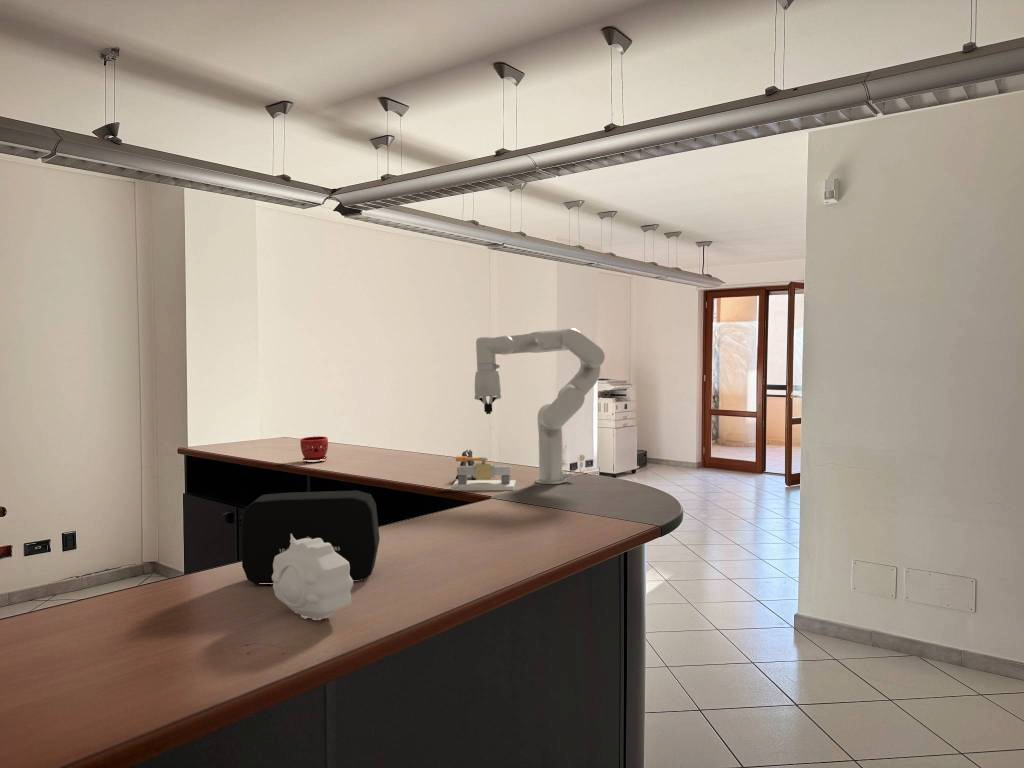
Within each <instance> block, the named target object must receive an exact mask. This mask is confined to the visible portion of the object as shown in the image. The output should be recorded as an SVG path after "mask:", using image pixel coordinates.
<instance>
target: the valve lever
mask: <svg viewBox="0 0 1024 768" xmlns="http://www.w3.org/2000/svg"><path fill="white" fill-rule="evenodd" d="M467 456H468V455H467ZM467 456H462V455H461V456H459V455H458V456H455V462H461V461H467V460H474V461H479V462H482V461H486V462H488V457H487V456H481V457H474V456H472V457H467Z"/></svg>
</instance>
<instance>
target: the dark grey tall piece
mask: <svg viewBox="0 0 1024 768" xmlns="http://www.w3.org/2000/svg"><path fill="white" fill-rule="evenodd" d="M461 456H467V457H473V451H472V449H469V450H468V449H467V450H465V451H463V452H462V453H461ZM474 464H476V462H475V460H467V461H460V465H459V466H473V465H474ZM458 476H459V475H457V474H456V476H455V479H458ZM467 480H476V478H473V475H470V476H467Z"/></svg>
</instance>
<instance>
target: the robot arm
mask: <svg viewBox="0 0 1024 768" xmlns="http://www.w3.org/2000/svg"><path fill="white" fill-rule="evenodd" d="M475 347H476V348H475V349H476V351H475V352H476V369H477V371H475V376H474V400H478V401H480V402H482V404H483V410H484V413H485V415H491V414H492V412H493V403H494V402H495V401H496V400H500V399H501V398H502V395H501V381H500V375H499V371H498V370H497V369H500V364H497V363H496V362H497V361H496V355H503V356H505V355H506V356H507V355H512V354H513V355H514V354H525V353H531V354H532V353H533V354H539V353H550V352H560V351H569V352H571V353H572V354H573V355H574V356H576V357H577V358H578V359H579V362H580V367H579V370H578V371H577V372H576V374H574V376H573V377H572V378H571V379H570V380H569V381H568V382H567V383H566V384H565V385H564V386H563V387H561V389H560V390H559V391H558V392H557V396H556V398H555V399H554V400H553V401H552V402H551V403H547V404H544V405H542V406H541V407H540V408H539V410H538V411H537V429H538V477H537V478H535V483H537V484H541V485H559V484H566V483H567V478H570V479H571V478H573V479H574V477H575V475H574V474H575V473H574V472H566V471H564V469H563V429H562V427H563V426H564V425H565V424H566V423H567V422H569V421H570V420H571V418H572V417H574V415H576V413H577V412H578V411H579V410H580V409H581V408H582V407H583V405H584V404H585V399H586V397H585V396H586V395H587V394H588V393H589V392H590V390H592V388H594V386H595V385H596V383H597V382H598V380H599V378H600V375H601V365H603V364H604V362H605V356H606V355H605V352H604V350H603V348H601V347H600V346H599V345H598V344H597V343H595V342H594V341H592V340H591V339H590V338H588V337H587V336H586V335H584V333H582V332H581V331H579V330H578V329H577V328H572V327H571V328H566V329H565V328H564V329H553V330H541V331H534V332H530V333H525V334H516V335H501V336H495V337H493V336H492V337H491V336H485V337H484V336H481V337H478V338H476V340H475ZM487 397H489V399H488V401H487Z"/></svg>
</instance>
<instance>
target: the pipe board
mask: <svg viewBox="0 0 1024 768" xmlns="http://www.w3.org/2000/svg"><path fill="white" fill-rule="evenodd" d="M467 477H468V475H459V476H458V480H455V482H454V483H453V484H452V485H451V490H452V489H458V490H457V491H514V490H515V488H514V487H516V485H517V480H515V479H511V475H500V477H501V479H497V480H495V479H493V480H492V479H491V480H467ZM515 484H516V485H515ZM459 489H460V490H459Z"/></svg>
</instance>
